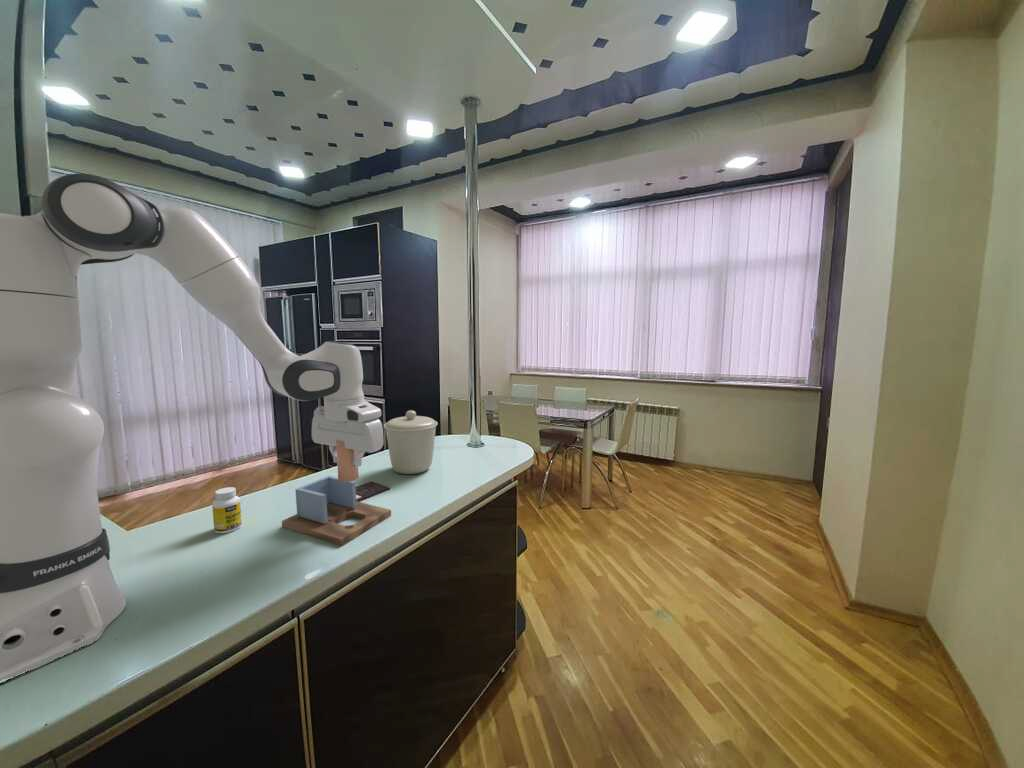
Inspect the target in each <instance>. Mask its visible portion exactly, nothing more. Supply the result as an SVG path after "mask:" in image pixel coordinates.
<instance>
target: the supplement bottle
mask: <svg viewBox="0 0 1024 768" xmlns="http://www.w3.org/2000/svg"><path fill="white" fill-rule="evenodd" d="M236 494H237V490H236V487H233V486H228V487H223V488H220V489H217V490H215V491H214V497H215V499H214V500H213V502H212V504H211V505H212V506H211V507H212V508H211V509H212V518H213V519H212V520H213V530H214V532H215V533H216V534H228V533H232V532H235V531H237V530H239V529H240V528H241V527H242V521H243V520H242V508H241V498H240V497H239V496H237V495H236Z"/></svg>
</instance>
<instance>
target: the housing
mask: <svg viewBox="0 0 1024 768" xmlns="http://www.w3.org/2000/svg"><path fill="white" fill-rule="evenodd" d="M356 487H357V486H356V480H354V481H350V482H340V481H338V476H337V477H336V476H334V475H333V476H332V475H328V476H324V477H322V478H320V479H318V480H315V481H312V482H310V483H307V484H304V485H302V486H299V487H297V488H295V500H296V501H295V503H296V504H295V505H296V514H297V516H300V517H303V518H307V519H310V520H313V521H317V522H320V523H324V524H325V523H327V522H328V517H327V503H329V502H331V503H335V504H339V505H342V506H346V507H350V508H355V507H356Z"/></svg>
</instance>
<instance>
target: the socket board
mask: <svg viewBox="0 0 1024 768" xmlns="http://www.w3.org/2000/svg"><path fill="white" fill-rule="evenodd" d="M391 516H392V510H391V509H389V508H384V507H380V506H377V505H373V504H369V503H365V502H362V501H360V502H358V501H356V507H355V508H350V507H346V506H342V505H339V504H335V503H331V502H329V503H327V517H328V522H327V523H325V524H324V523H320V522H317V521H313V520H310V519H307V518H303V517H300V516H297V513H296V514H294V515H291V516H289V517H287V518H285V519H283V520H281V527H282V528H285V529H288V530H291V531H294V532H297V533H300V534H303V535H307V536H309V537H313V538H316V539H319V540H323V541H325V542H329V543H331V544H334V545H338V546H340V547H343V546H344V545H346V544H349V542H351V541H353V540H354V539H357V537H359V536H360V535H362V534H364V533H366V532H368V531H369V530H370V529H372V528H373V527H375V526H377V525H378V524H380V523H381V522H383V521H385V520H387V519H388V518H389V517H391ZM352 518H356V519H359V521H357V522H356V523H353V524H350V525H343V524H342V522H344V521H346V520H348V519H352ZM340 523H341V524H340Z"/></svg>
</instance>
